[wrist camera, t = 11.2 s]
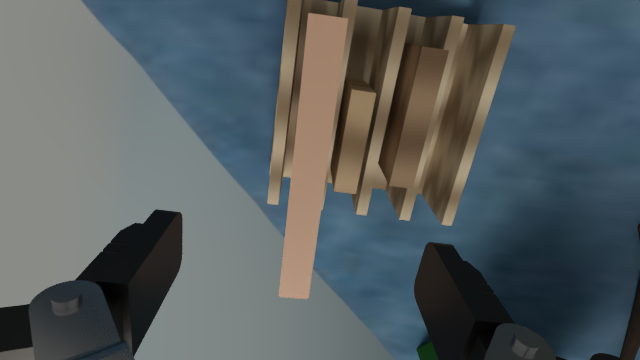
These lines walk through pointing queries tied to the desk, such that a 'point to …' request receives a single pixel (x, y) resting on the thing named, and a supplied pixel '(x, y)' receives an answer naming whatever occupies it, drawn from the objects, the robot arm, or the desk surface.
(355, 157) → the offcut short
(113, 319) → the robot arm
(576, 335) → the desk surface
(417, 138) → the offcut tall
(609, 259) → the desk surface
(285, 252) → the tall sheet
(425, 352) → the hardback book
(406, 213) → the rack
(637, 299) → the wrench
